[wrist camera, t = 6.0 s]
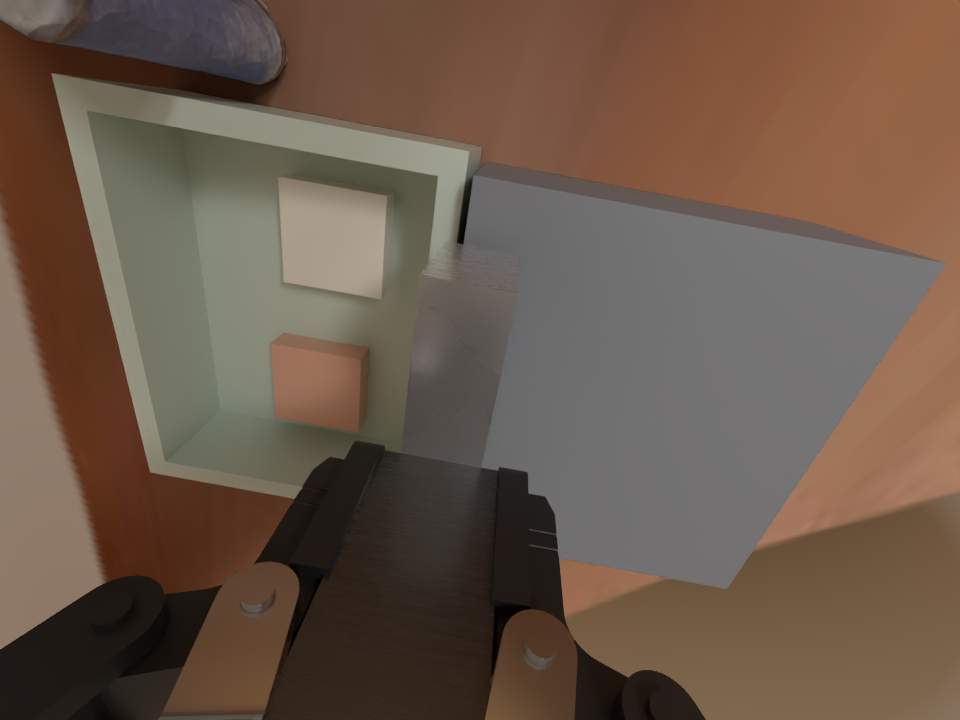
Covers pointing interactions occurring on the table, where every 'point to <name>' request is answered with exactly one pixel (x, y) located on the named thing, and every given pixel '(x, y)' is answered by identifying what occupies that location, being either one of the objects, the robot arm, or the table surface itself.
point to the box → (245, 267)
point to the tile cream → (336, 235)
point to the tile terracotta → (320, 381)
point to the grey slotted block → (676, 361)
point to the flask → (162, 32)
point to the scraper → (419, 527)
